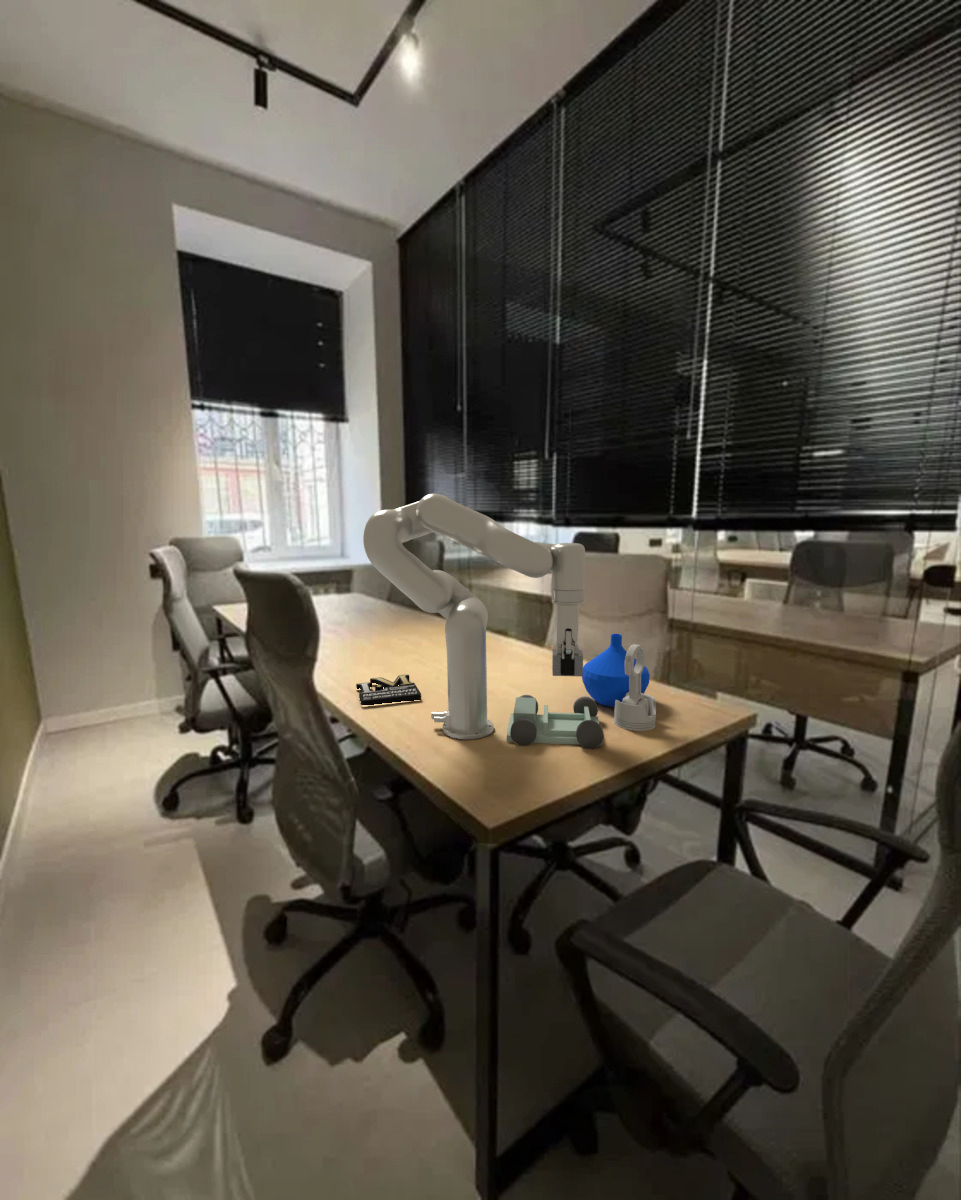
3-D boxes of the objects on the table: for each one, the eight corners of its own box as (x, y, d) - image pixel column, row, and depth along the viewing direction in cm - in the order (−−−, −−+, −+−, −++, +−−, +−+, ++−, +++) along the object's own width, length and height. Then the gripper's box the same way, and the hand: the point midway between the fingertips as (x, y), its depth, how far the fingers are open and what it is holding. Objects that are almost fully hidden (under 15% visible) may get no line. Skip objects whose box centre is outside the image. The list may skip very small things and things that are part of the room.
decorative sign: (361, 701, 152) (354, 679, 170) (361, 709, 152) (355, 687, 171) (421, 694, 157) (409, 674, 176) (422, 702, 157) (409, 681, 176)
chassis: (505, 745, 127) (505, 718, 126) (511, 716, 144) (511, 692, 143) (603, 749, 124) (604, 721, 123) (596, 719, 142) (597, 695, 141)
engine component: (661, 721, 140) (624, 712, 146) (665, 643, 136) (627, 637, 143) (644, 735, 131) (605, 725, 138) (647, 652, 128) (607, 645, 134)
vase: (593, 687, 167) (594, 625, 164) (655, 696, 158) (658, 631, 155) (571, 706, 151) (572, 638, 148) (639, 718, 142) (641, 646, 139)
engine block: (552, 675, 130) (552, 648, 128) (552, 669, 135) (552, 643, 134) (582, 676, 129) (583, 649, 128) (581, 669, 134) (581, 643, 133)
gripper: (551, 590, 138) (550, 661, 141) (552, 602, 121) (551, 681, 124) (581, 591, 137) (580, 661, 140) (587, 602, 120) (585, 682, 123)
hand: (566, 670), depth 132 cm, fingers closed on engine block, 5 cm apart
